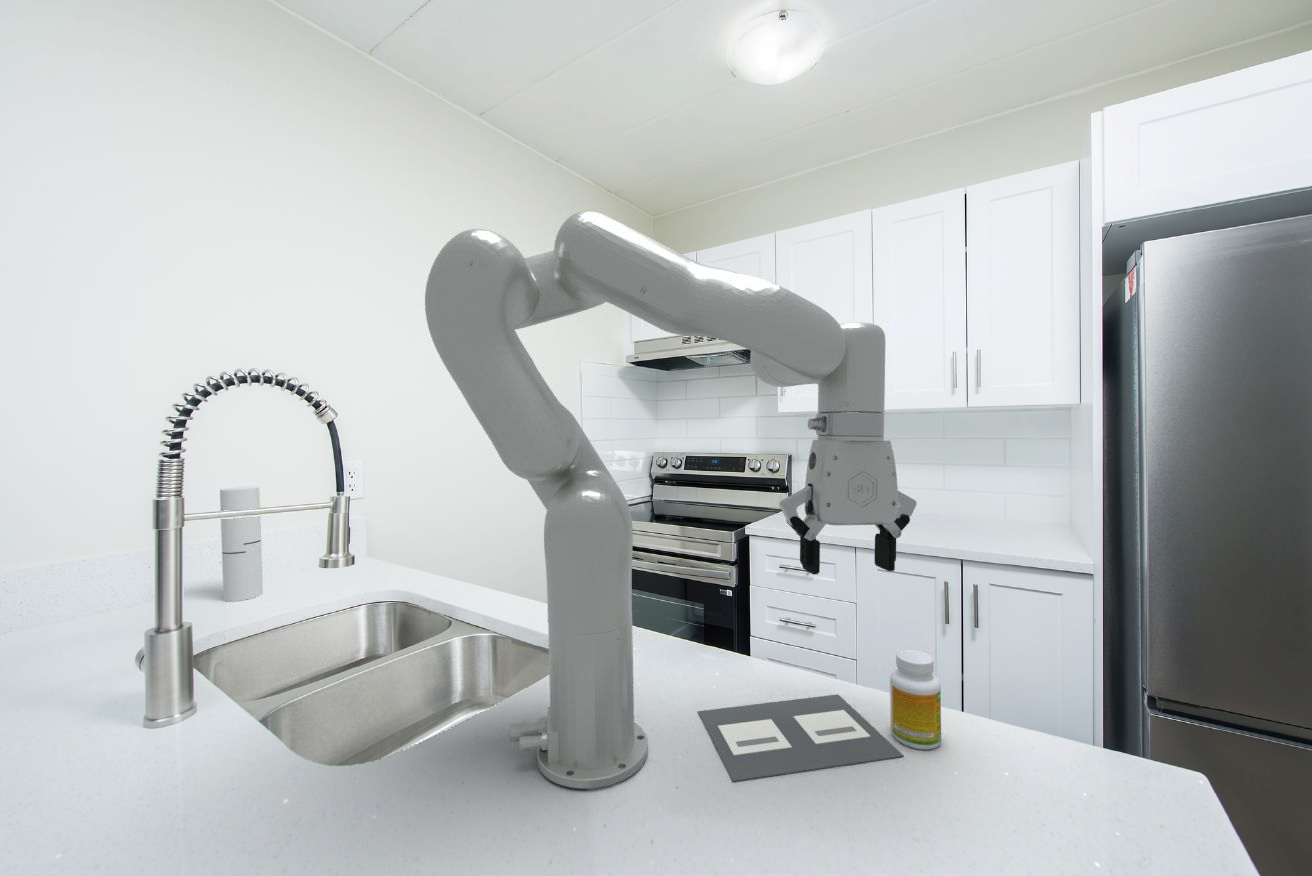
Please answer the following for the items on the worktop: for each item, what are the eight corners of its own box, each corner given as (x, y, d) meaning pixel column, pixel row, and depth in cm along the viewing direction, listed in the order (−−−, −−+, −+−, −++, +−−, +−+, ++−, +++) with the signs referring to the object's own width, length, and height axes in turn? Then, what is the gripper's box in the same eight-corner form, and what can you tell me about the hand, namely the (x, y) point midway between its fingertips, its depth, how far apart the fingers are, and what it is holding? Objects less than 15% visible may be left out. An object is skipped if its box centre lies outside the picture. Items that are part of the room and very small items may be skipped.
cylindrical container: (268, 594, 124) (264, 487, 123) (231, 603, 118) (227, 490, 117) (254, 590, 128) (251, 486, 127) (218, 598, 122) (214, 489, 121)
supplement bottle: (947, 753, 60) (947, 668, 60) (896, 748, 61) (895, 664, 61) (933, 727, 65) (932, 648, 65) (886, 723, 66) (885, 645, 66)
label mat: (732, 782, 56) (732, 779, 56) (697, 712, 70) (697, 710, 70) (903, 757, 60) (903, 754, 60) (838, 695, 73) (838, 693, 73)
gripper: (796, 427, 59) (794, 581, 59) (935, 429, 62) (933, 575, 62) (770, 427, 66) (768, 564, 67) (895, 429, 69) (893, 560, 70)
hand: (847, 569), depth 64 cm, fingers open, 9 cm apart
